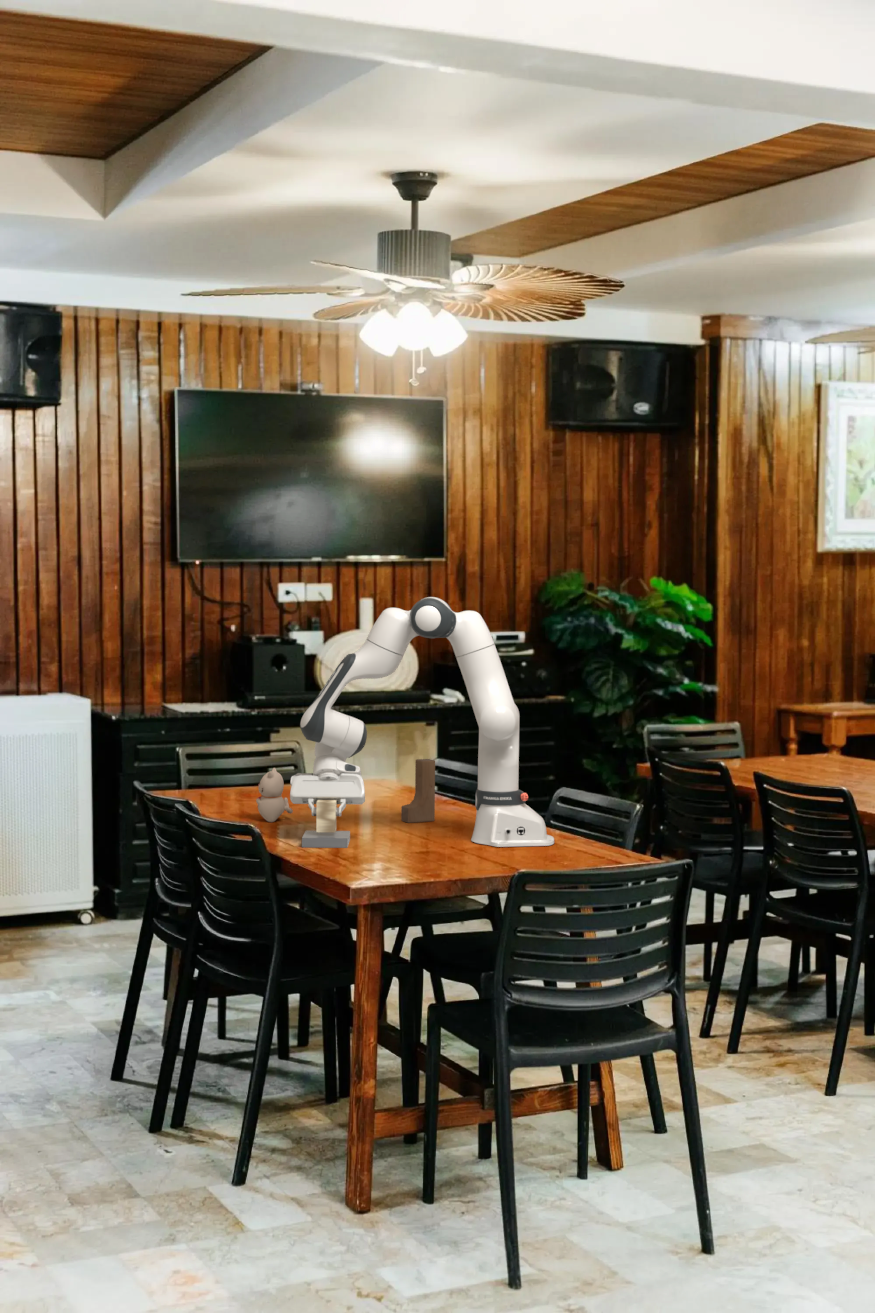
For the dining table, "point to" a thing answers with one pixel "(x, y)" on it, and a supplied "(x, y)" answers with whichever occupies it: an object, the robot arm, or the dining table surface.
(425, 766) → the wooden block
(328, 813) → the maple post
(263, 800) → the toy
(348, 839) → the base slab
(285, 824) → the dining table surface
